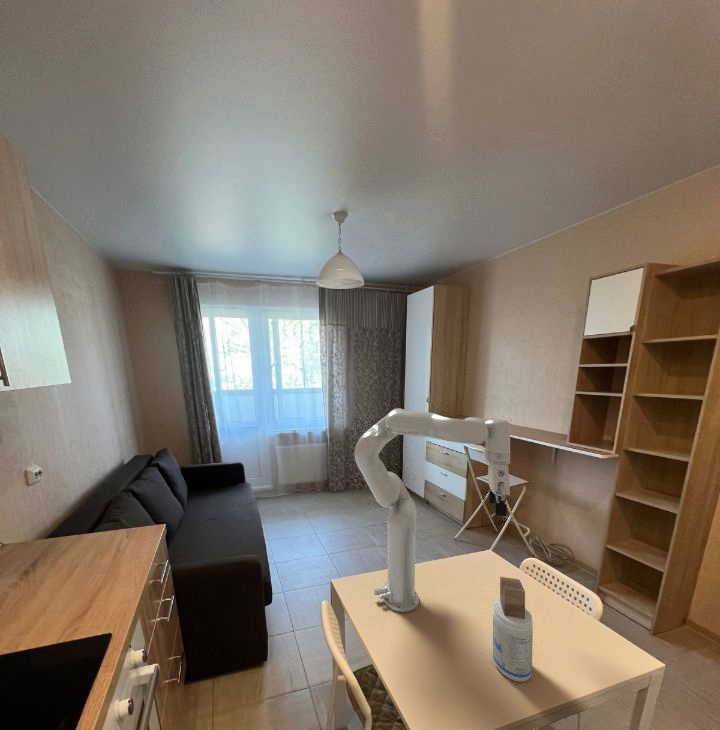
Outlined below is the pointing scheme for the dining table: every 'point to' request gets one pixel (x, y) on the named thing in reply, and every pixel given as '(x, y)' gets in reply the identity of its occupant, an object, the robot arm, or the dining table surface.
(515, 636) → the supplement tub
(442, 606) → the dining table surface
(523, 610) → the walnut block
